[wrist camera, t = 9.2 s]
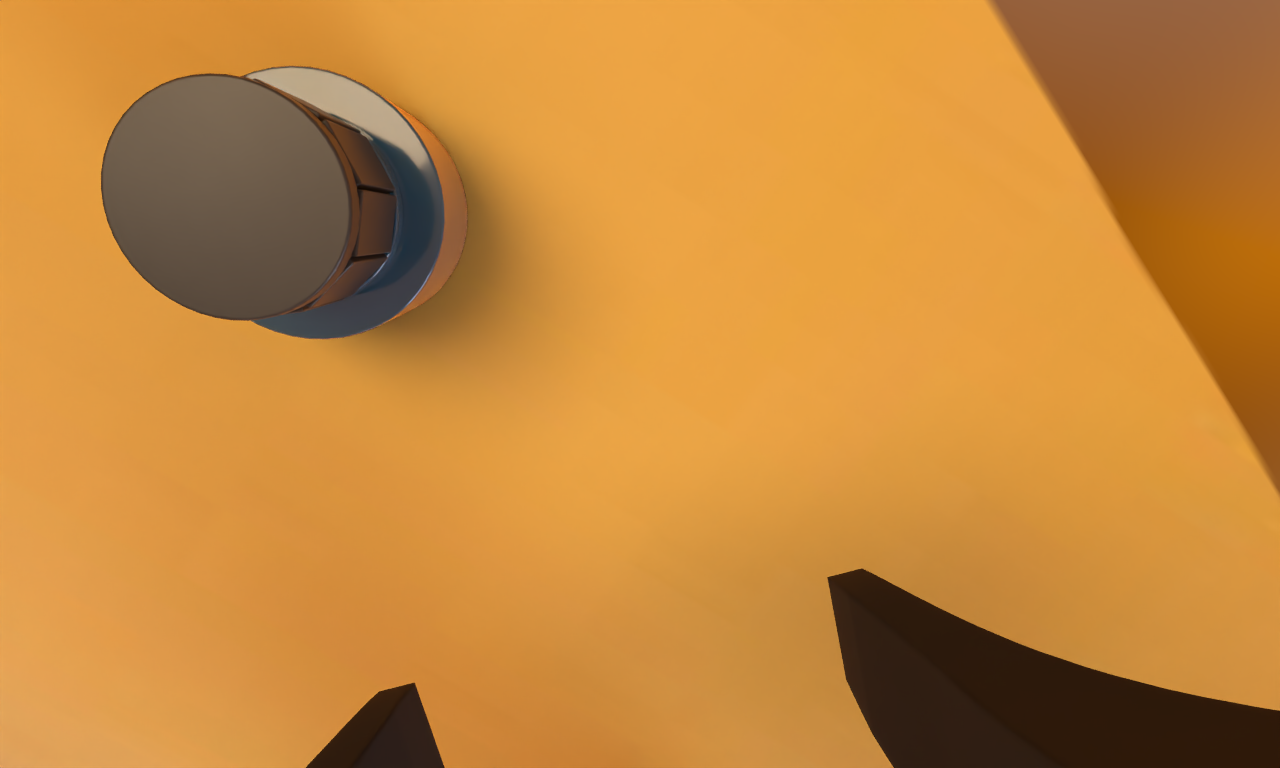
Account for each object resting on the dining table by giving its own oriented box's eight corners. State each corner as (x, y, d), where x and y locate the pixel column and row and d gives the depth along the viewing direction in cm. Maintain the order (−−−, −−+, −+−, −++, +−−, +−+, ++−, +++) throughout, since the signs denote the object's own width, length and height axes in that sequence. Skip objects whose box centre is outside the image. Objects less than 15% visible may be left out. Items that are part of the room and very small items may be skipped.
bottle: (412, 357, 20) (334, 417, 14) (207, 257, 19) (18, 272, 13) (505, 166, 19) (466, 135, 13) (293, 49, 18) (137, -47, 12)
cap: (351, 337, 16) (300, 362, 13) (158, 245, 15) (59, 249, 12) (430, 167, 15) (395, 154, 12) (233, 61, 14) (147, 20, 11)
